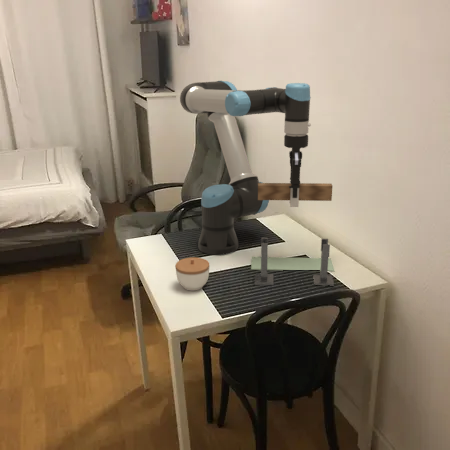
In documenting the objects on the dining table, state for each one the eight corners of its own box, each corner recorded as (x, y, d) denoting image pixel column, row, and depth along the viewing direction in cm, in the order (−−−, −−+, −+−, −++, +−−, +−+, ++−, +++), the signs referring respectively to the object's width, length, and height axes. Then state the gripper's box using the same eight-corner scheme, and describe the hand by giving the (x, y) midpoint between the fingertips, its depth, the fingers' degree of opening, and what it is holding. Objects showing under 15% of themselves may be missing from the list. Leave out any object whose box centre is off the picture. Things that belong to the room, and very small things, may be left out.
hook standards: (254, 284, 158) (254, 244, 153) (255, 276, 164) (255, 237, 159) (333, 286, 156) (336, 245, 151) (331, 278, 162) (334, 238, 157)
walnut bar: (257, 200, 163) (258, 185, 162) (258, 197, 166) (258, 182, 164) (331, 200, 161) (332, 186, 160) (330, 198, 164) (331, 183, 162)
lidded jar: (179, 296, 152) (178, 268, 149) (173, 281, 162) (172, 254, 158) (213, 291, 154) (213, 264, 151) (205, 276, 164) (204, 250, 161)
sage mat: (251, 269, 169) (251, 268, 169) (252, 257, 178) (251, 256, 178) (334, 271, 166) (334, 270, 166) (330, 259, 176) (330, 258, 176)
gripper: (310, 138, 149) (307, 212, 157) (306, 129, 164) (303, 197, 172) (285, 138, 149) (283, 212, 157) (283, 129, 164) (282, 197, 172)
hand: (293, 204), depth 164 cm, fingers closed on walnut bar, 3 cm apart
